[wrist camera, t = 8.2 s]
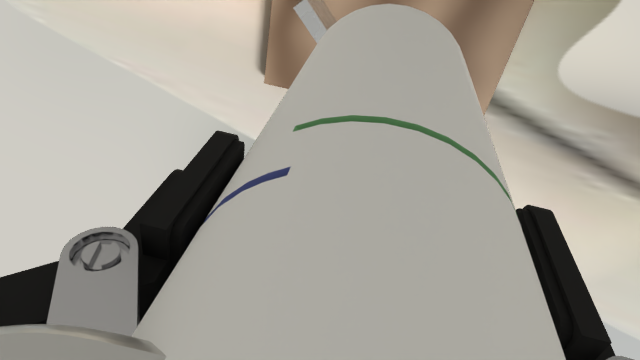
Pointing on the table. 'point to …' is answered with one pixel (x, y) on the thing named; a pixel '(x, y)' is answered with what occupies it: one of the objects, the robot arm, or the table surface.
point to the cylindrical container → (363, 220)
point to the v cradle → (441, 3)
